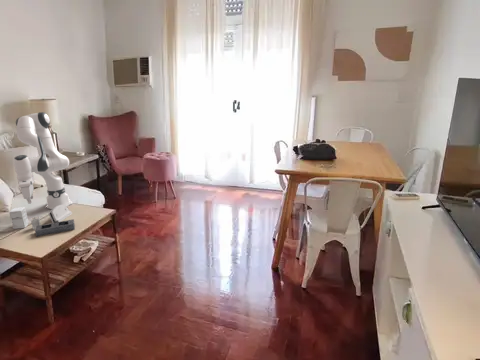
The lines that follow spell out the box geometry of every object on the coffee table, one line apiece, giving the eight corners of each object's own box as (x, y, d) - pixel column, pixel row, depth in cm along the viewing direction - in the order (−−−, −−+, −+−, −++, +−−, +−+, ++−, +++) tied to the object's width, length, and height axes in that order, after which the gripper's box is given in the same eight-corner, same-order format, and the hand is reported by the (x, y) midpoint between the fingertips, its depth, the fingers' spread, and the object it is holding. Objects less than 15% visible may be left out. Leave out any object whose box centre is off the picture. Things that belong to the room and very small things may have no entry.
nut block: (33, 227, 229) (31, 217, 227) (40, 226, 231) (38, 215, 229) (33, 229, 226) (30, 219, 223) (40, 228, 227) (37, 218, 225)
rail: (37, 231, 223) (36, 225, 222) (74, 224, 232) (73, 219, 230) (36, 236, 216) (35, 231, 214) (74, 229, 224) (73, 223, 223)
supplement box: (13, 229, 227) (8, 211, 223) (17, 224, 234) (13, 207, 230) (25, 228, 229) (21, 210, 225) (29, 223, 236) (25, 206, 232)
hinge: (58, 222, 235) (51, 210, 233) (53, 224, 236) (46, 212, 234) (72, 213, 251) (66, 201, 249) (67, 215, 252) (60, 203, 249)
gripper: (22, 177, 226) (27, 196, 230) (18, 185, 208) (23, 206, 212) (33, 176, 229) (37, 195, 233) (29, 184, 211) (34, 205, 215)
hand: (30, 200), depth 222 cm, fingers open, 8 cm apart
